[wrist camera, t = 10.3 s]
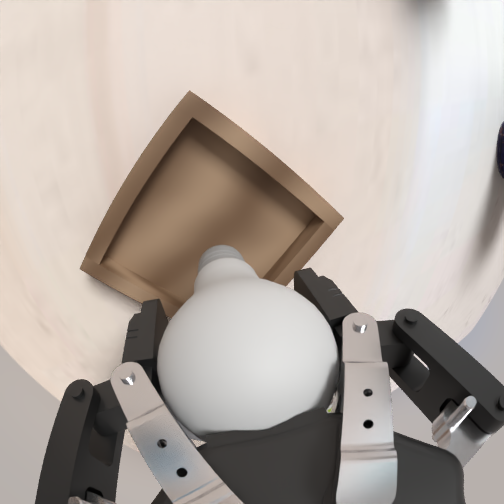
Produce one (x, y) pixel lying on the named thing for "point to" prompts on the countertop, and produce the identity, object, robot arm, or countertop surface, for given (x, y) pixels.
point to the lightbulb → (244, 351)
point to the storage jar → (500, 150)
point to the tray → (205, 210)
